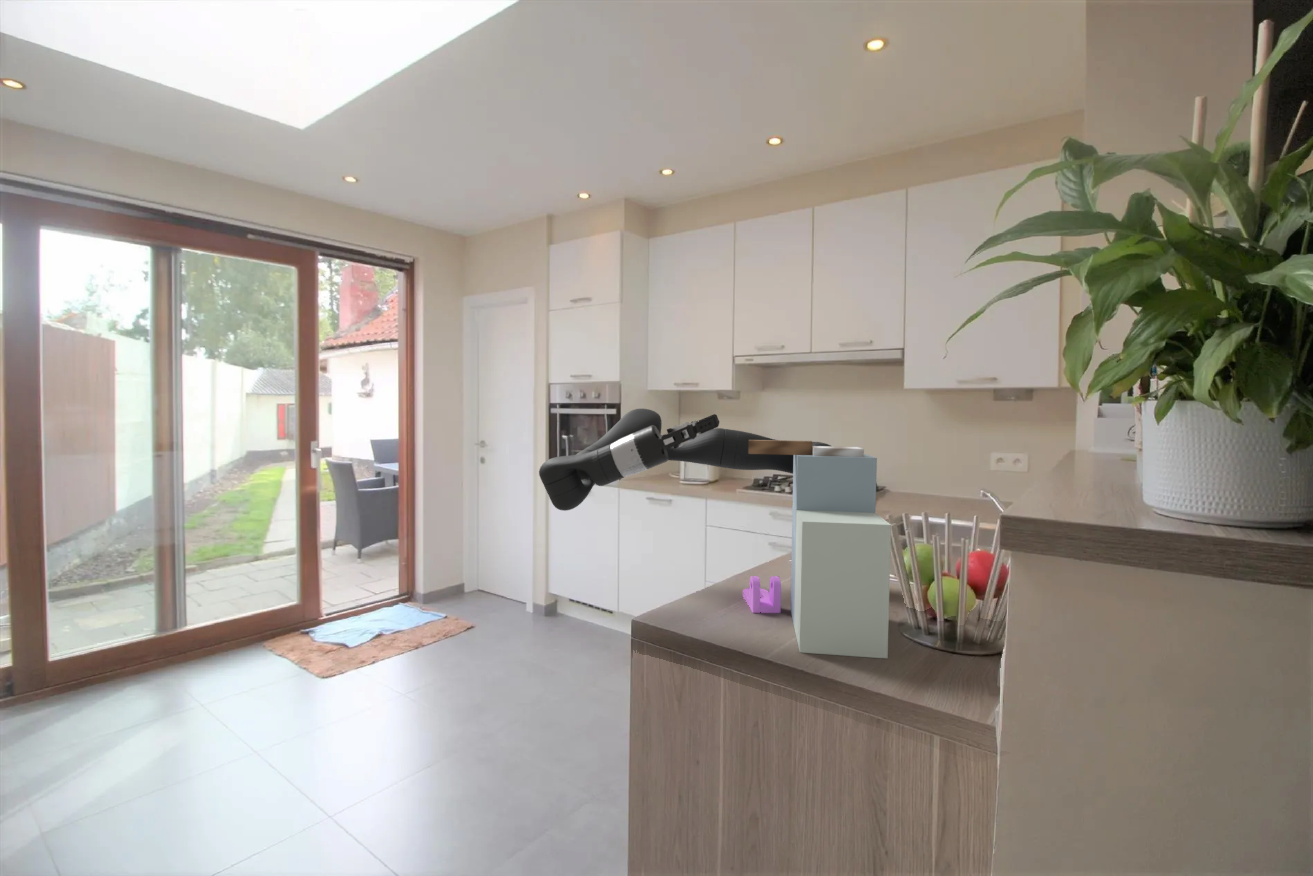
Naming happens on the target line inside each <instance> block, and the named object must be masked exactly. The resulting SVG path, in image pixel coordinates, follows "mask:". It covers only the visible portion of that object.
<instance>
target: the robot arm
mask: <svg viewBox="0 0 1313 876" xmlns="http://www.w3.org/2000/svg"><path fill="white" fill-rule="evenodd" d="M662 424H663V423H662V418H661V416H660V414H659V413H658V412H656V411H655V410H652V409H647V408H635V409H632V410H630V411H628V412H626V413H625V414H624V415H623V416H622V417H621V418H620V419H619V421H617V422H616V424H614V425H613V426H612V428H610V429H609V430H608V431H607V432H606V433H605V434H603V436H602V437H601V438H599V439H598V440H597V441H595V442H594V443H592V444H590V445H589V446H587V447H585V448H584V449H583V450H580V451H579V452H577V453H575V454H573V455H571V454H570V455H562V456H556V457H552V458H548V459H547V460H545V462H543V463H542V465H541V466H540V468H539V471H538V476H539V478H540V480H541V483H542V485H543V487H544V489H545V491H546V492H547V495H548V497H549V499H550V502H551V504H552V505H553V507H555V508H556V510H560V511H565V512H566V511H570V510H573V509H575V508H577V507H578V506H579V505H581V504H582V503H583V502H584V500H585V499H587V497H588V495H589V494H590V492H591V491H592V489H593V487H594V486H595V485H596V486H599V487H602V486H606V485H609V484H612V483H613V482H617V481H618V480H621V479H623V478H626V477H631V476H633V475H638V474H639V473H642V472H645V471H647V470H650V469H652V468H654V467H658V466H659V465H662V464H664V463H667V462H668V461H673V462H674V461H675V462H686V463H691V464H692V463H693V464H700V465H705V466H707V465H708V466H712V467H715V468H717V467H718V468H726V469H729V470H730V469H732V470H740V471H741V470H742V471H761V470H762V471H763V470H767V471H768V470H769V471H778V472H782V473H784V472H785V473H789V474H792V475H793V459H794V455H780V454H748V447H749V440H776V439H773V438H770V437H767V436H763V435H760V434H757V433H752V432H747V431H743V430H736V429H735V430H734V429H729V428H722V427H720V428H719V426H720V420H719V418H718V415H717V414H715V413H714V414H711V415H708V416H706V417H704V418H702V419H698V420H697V419H696V420H693V421H691V422H689V421H686V422H684V423H682V424H679V425H674V426H671V427H669V428H666V431H667V433H666V434H665V433H664V434H662V426H663V425H662ZM812 446H832V445H831V444H828V443H825V442H821V441H813V445H812Z"/></svg>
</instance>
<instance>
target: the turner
mask: <svg viewBox="0 0 1313 876" xmlns="http://www.w3.org/2000/svg"><path fill="white" fill-rule="evenodd" d="M813 442H814V441H812V440H780V439H779V440H778V439H775V440H749V447H748V454H780V455H813V456H838V457H864V454H865V448H862V447H859V446H835V445H834V446H833V445H831V446H812V445H813Z"/></svg>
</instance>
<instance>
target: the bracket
mask: <svg viewBox="0 0 1313 876" xmlns="http://www.w3.org/2000/svg"><path fill="white" fill-rule="evenodd" d="M781 596H782V582H781V579H780V576H778V575H777V576H776V575H774V576H773V575H772V576H770V578H769V591H768V590H767V589H764V588H761V581H760V577H759V576H757V575H755V576H751V575H750V578H749V587H747V588H744V589H743V590H742V598H743V597H744V598H743V600H744V599H745V600H746V601H745V600H744V601H745V603H746V602H747V603H746V605H747V606H748V605H749V606H748V608H749V607H750V608H749V609H750V611H751V612H752V614H781V605H782V604H781V603H782V597H781ZM760 597H761V598H760ZM760 612H761V613H760Z"/></svg>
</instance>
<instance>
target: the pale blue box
mask: <svg viewBox="0 0 1313 876" xmlns="http://www.w3.org/2000/svg"><path fill="white" fill-rule="evenodd" d="M877 462H878V458H877V457H876V456H872V455H869V454H866V453H864V457H838V456H813V455H794V459H793V474H792V508H791V509H792V511H791V513H792V515H791V516H792V519H791V521H792V523H791V556H790V557H791V564H790V565H791V566H790V571H791V572H790V607H789V608H790V610H789V611H790V614H791V619H792V623H793V627H794V628H793V629H794V632H795V637H796V641H797V645H798V646H797V648H798V650H799V651H798V653H802V654H815V655H816V654H817V655H818V654H819V655H830V656H831V655H832V656H846V657H858V658H859V657H861V658H874V659H889V657H888V652H889V651H888V650H889V617H890V582H891V581H890V580H891V579H890V578H891V575H890V574H891V546H892V545H891V544H892V543H891V539H892V524H891V523H890V522H888V521H887V520H885V519H884V518H883V517H882V516H881V515H879V514H878V513H877V512H876V507H877V505H876V503H877V501H876V500H877V469H878V468H877V467H878V466H877V465H878V463H877Z"/></svg>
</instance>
